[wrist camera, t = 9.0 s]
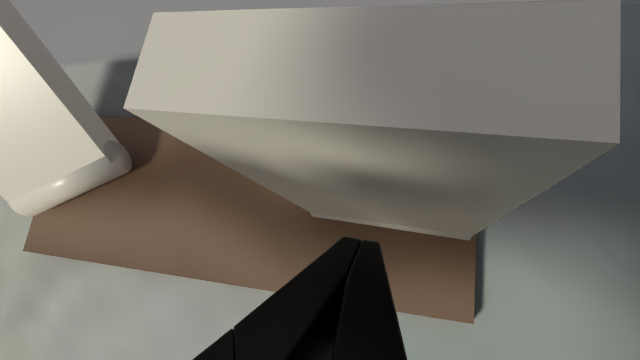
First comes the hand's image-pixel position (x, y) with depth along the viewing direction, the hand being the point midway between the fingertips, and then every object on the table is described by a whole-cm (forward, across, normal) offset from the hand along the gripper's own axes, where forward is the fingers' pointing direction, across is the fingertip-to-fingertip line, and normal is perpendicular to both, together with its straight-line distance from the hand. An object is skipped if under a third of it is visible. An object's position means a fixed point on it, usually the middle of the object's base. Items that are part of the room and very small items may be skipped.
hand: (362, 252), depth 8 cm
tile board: (+6, +8, +4) cm, 11 cm away
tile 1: (+5, +16, +3) cm, 17 cm away
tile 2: (+5, 0, +2) cm, 6 cm away
